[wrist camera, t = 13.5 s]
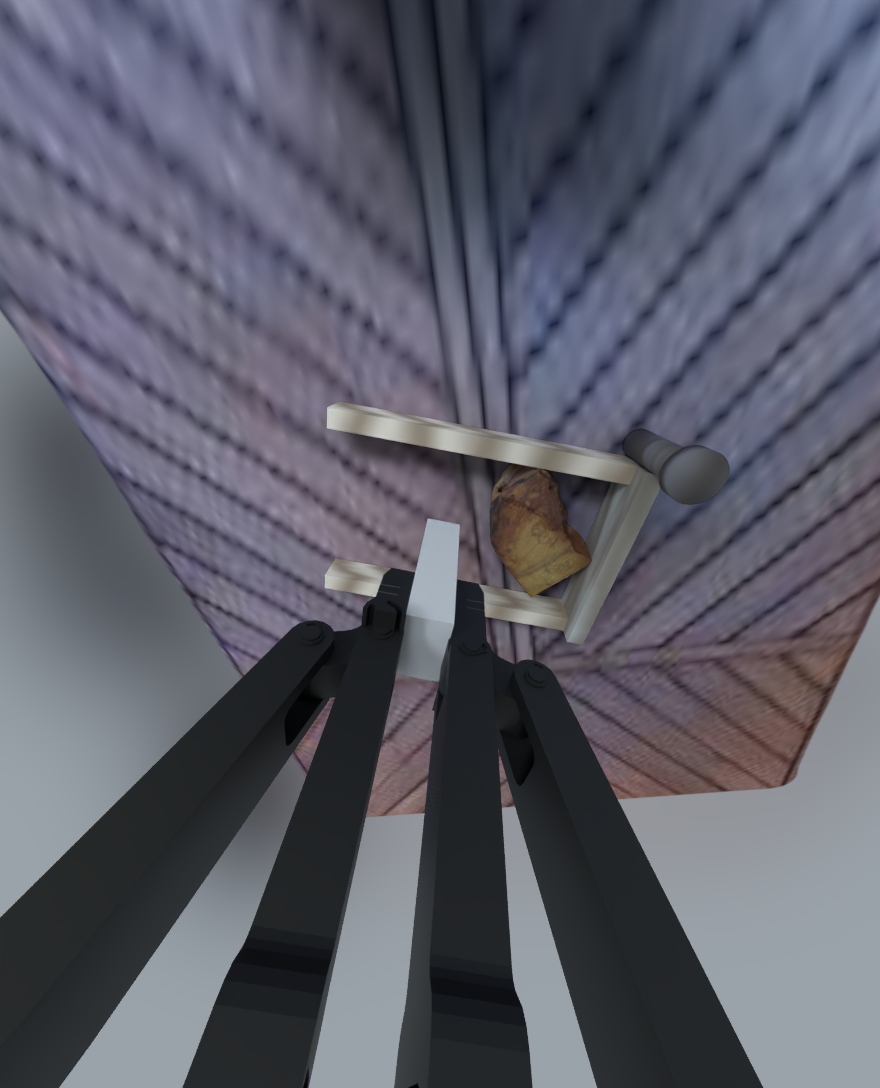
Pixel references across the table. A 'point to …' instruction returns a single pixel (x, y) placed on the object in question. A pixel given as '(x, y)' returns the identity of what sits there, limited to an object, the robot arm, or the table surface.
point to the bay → (625, 503)
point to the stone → (534, 529)
